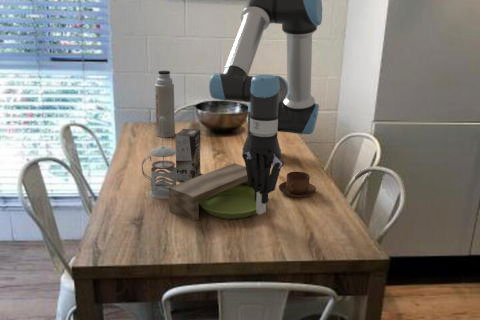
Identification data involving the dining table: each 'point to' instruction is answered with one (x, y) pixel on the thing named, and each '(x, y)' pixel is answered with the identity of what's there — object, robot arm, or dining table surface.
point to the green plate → (231, 203)
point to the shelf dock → (204, 189)
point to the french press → (161, 187)
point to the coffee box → (187, 154)
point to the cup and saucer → (297, 185)
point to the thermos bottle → (164, 104)
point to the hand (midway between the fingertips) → (260, 212)
